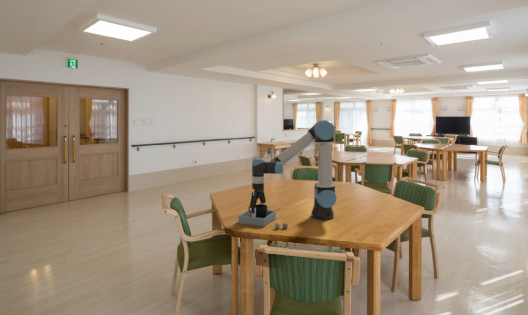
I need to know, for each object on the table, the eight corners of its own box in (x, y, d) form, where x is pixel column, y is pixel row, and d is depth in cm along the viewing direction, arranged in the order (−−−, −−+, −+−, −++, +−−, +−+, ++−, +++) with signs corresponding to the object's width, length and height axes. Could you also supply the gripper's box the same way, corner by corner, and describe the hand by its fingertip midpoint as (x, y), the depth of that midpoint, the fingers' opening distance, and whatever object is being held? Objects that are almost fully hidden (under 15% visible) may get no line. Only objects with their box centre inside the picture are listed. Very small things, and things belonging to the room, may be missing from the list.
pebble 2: (288, 227, 196) (288, 222, 196) (286, 229, 194) (287, 224, 193) (283, 227, 198) (283, 222, 197) (281, 228, 195) (281, 223, 194)
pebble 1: (281, 228, 196) (281, 222, 195) (279, 229, 193) (279, 224, 192) (275, 227, 197) (275, 221, 197) (273, 229, 194) (273, 223, 194)
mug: (249, 218, 214) (249, 203, 213) (267, 218, 213) (267, 204, 212) (247, 221, 206) (247, 207, 205) (266, 222, 205) (266, 207, 204)
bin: (276, 218, 216) (276, 211, 215) (264, 227, 198) (264, 219, 197) (251, 215, 222) (251, 208, 222) (238, 223, 204) (238, 215, 204)
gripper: (260, 179, 220) (260, 210, 223) (244, 185, 198) (244, 219, 200) (270, 180, 218) (270, 211, 220) (255, 186, 195) (255, 221, 197)
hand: (257, 215), depth 210 cm, fingers open, 13 cm apart
